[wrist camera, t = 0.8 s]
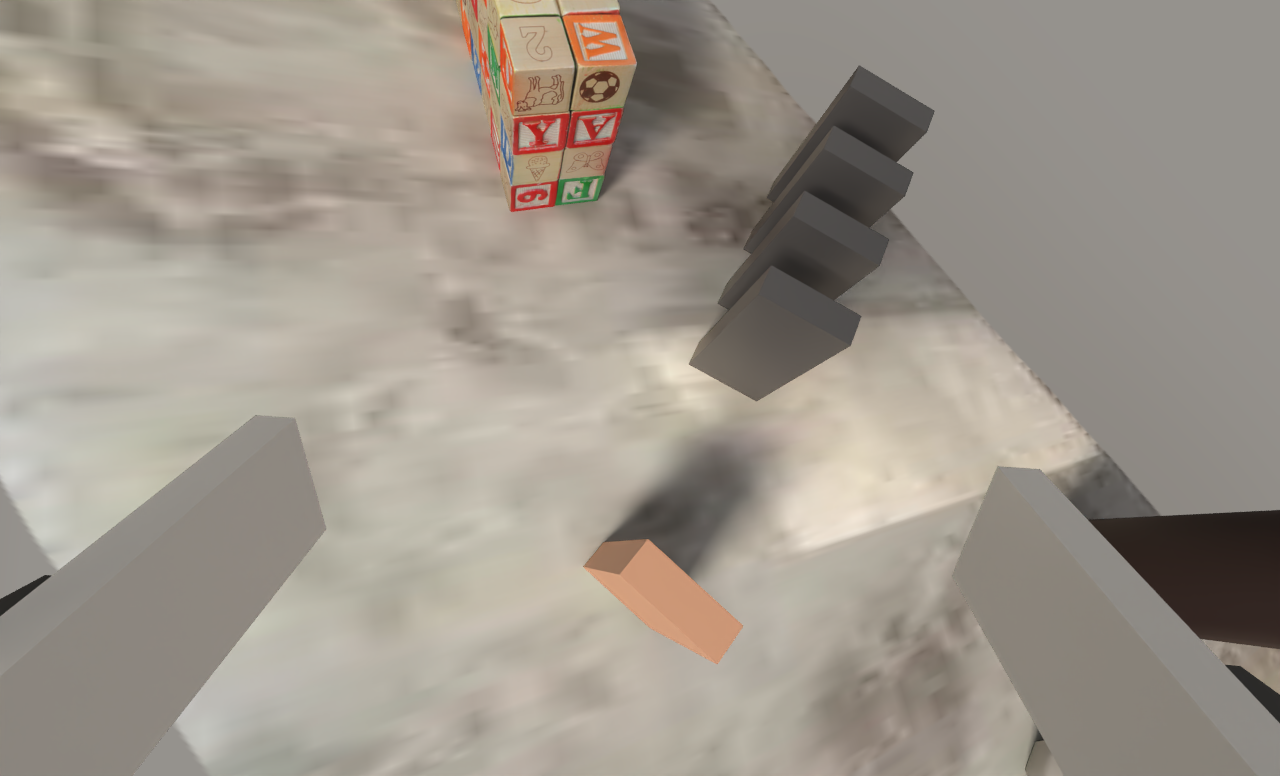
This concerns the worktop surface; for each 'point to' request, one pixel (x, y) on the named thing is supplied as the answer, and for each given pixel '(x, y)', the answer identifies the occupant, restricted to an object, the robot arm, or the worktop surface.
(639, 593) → the orange domino
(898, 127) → the domino
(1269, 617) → the vinegar
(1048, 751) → the salt shaker
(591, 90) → the stack of blocks
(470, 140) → the worktop surface
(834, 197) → the domino
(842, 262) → the domino
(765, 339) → the domino
